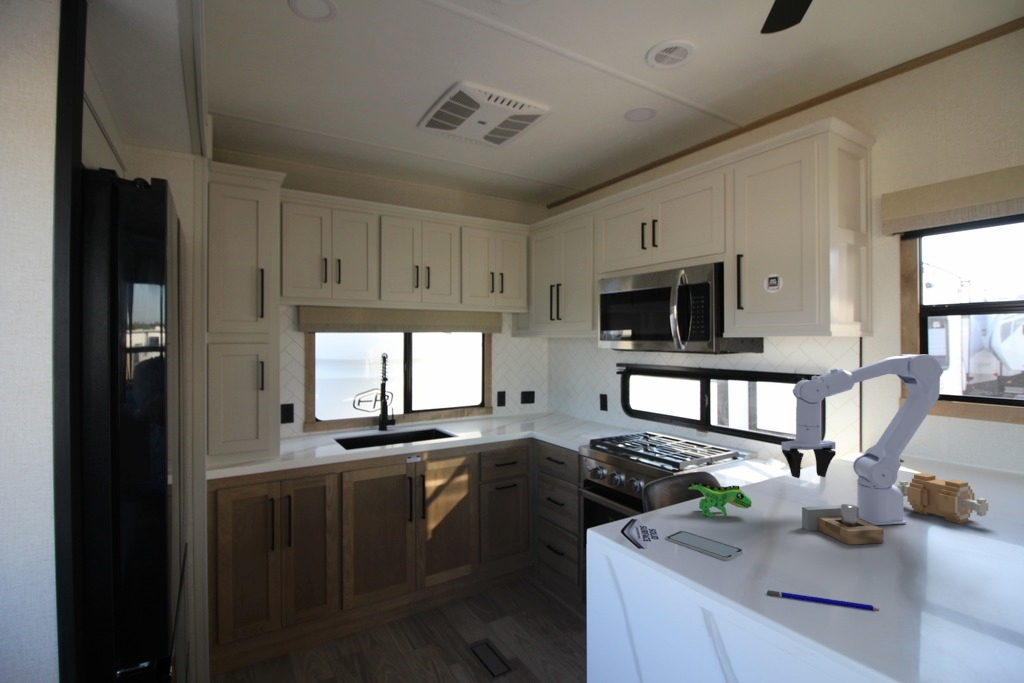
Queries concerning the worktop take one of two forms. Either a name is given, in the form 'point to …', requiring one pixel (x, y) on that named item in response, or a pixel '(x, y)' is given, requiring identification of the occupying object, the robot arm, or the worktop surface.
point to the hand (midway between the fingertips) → (808, 476)
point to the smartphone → (705, 545)
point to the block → (850, 531)
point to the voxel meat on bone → (942, 497)
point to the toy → (720, 497)
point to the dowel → (849, 515)
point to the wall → (819, 515)
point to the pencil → (822, 600)
